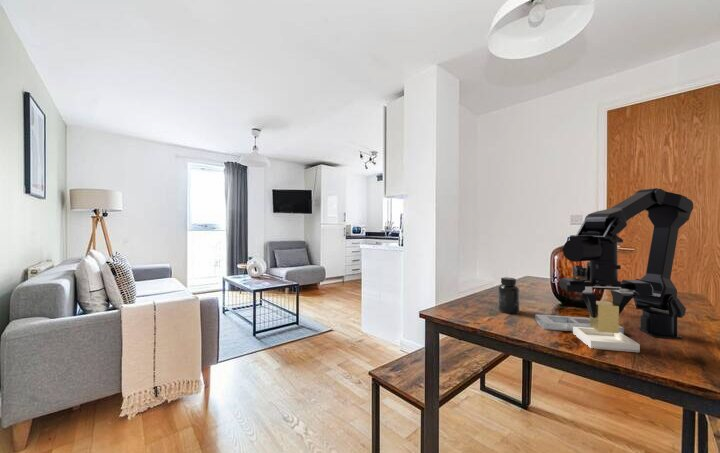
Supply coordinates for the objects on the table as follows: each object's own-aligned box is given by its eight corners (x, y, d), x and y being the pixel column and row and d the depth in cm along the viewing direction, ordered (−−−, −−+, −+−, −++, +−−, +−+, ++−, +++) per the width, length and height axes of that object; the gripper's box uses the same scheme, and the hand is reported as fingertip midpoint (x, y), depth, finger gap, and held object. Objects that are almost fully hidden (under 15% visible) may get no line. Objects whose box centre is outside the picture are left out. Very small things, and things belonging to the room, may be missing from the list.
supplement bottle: (522, 314, 101) (521, 280, 101) (501, 313, 102) (500, 280, 102) (515, 308, 108) (515, 276, 107) (496, 308, 109) (495, 276, 109)
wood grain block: (609, 327, 79) (608, 301, 78) (619, 333, 74) (618, 306, 74) (589, 325, 80) (589, 300, 80) (598, 331, 75) (598, 305, 75)
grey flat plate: (607, 325, 89) (607, 318, 89) (623, 335, 82) (623, 327, 82) (535, 320, 95) (535, 314, 95) (543, 329, 87) (543, 322, 87)
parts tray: (615, 336, 81) (615, 329, 81) (639, 352, 71) (639, 344, 71) (573, 333, 83) (572, 326, 83) (590, 348, 73) (590, 340, 73)
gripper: (626, 256, 82) (626, 311, 82) (551, 256, 87) (552, 307, 87) (654, 262, 71) (655, 324, 71) (567, 260, 76) (568, 319, 76)
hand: (603, 318), depth 77 cm, fingers closed on wood grain block, 4 cm apart
